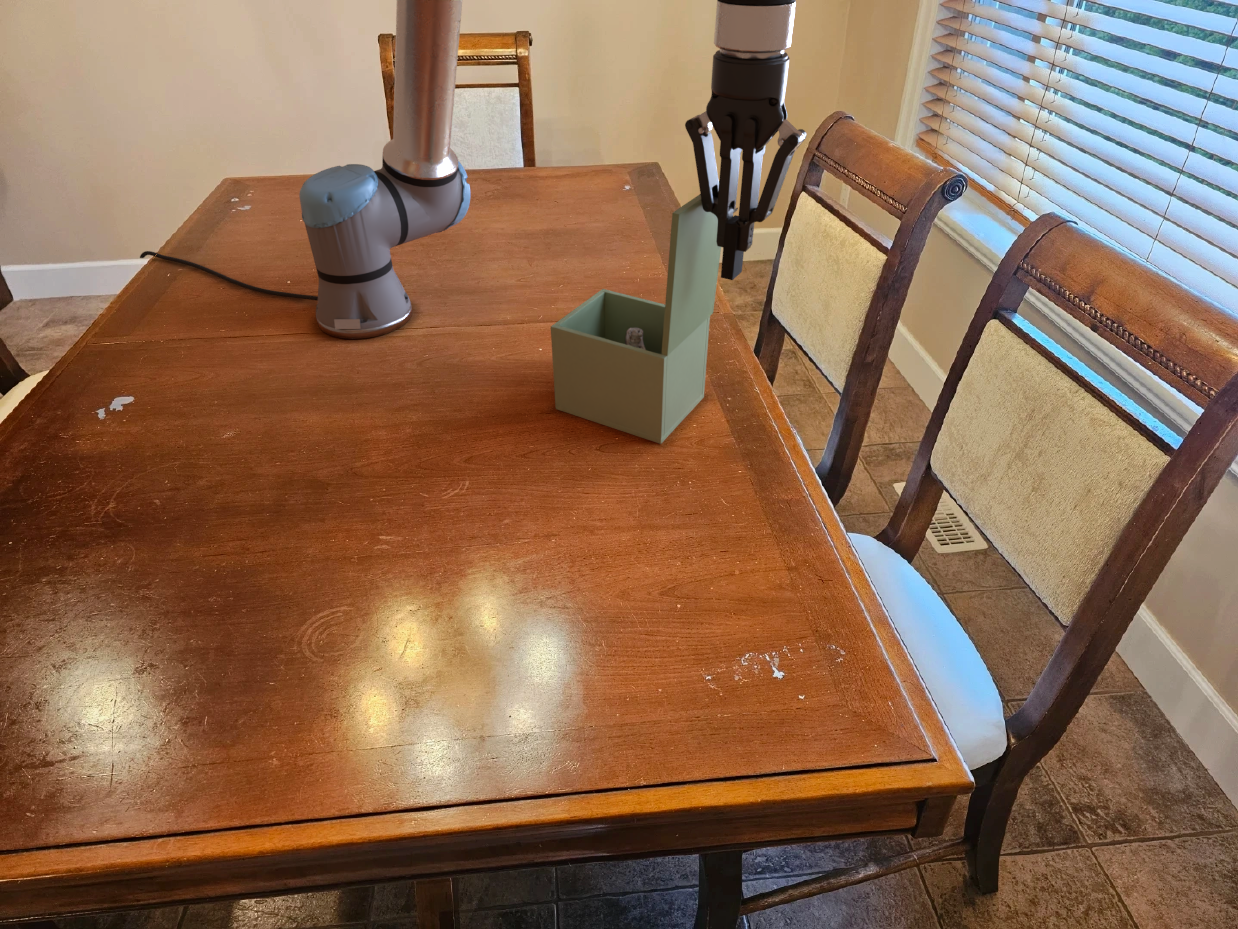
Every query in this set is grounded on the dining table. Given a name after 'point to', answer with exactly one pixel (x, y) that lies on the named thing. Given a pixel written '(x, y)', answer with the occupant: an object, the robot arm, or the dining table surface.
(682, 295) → the lid
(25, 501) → the dining table surface
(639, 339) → the flask
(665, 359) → the chest
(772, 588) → the dining table surface
